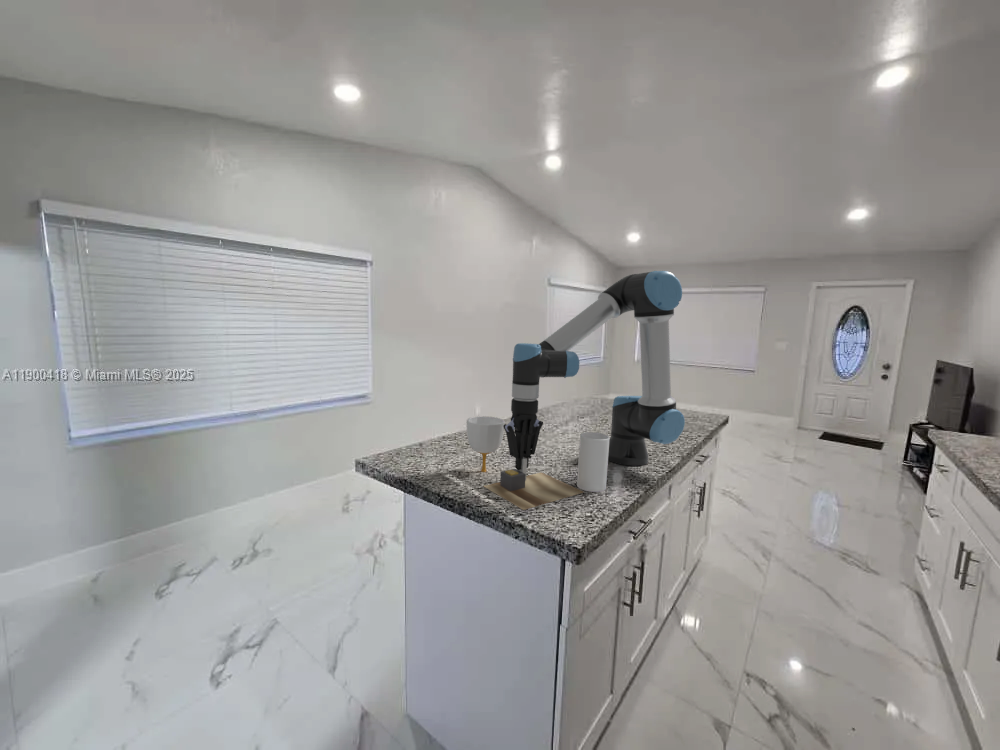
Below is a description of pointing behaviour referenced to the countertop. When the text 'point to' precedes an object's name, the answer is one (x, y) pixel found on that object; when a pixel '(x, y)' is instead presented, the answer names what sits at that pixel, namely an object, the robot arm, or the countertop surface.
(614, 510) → the countertop surface
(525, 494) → the panel
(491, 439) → the cup
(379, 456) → the countertop surface
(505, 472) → the dark grey box
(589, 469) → the cup
